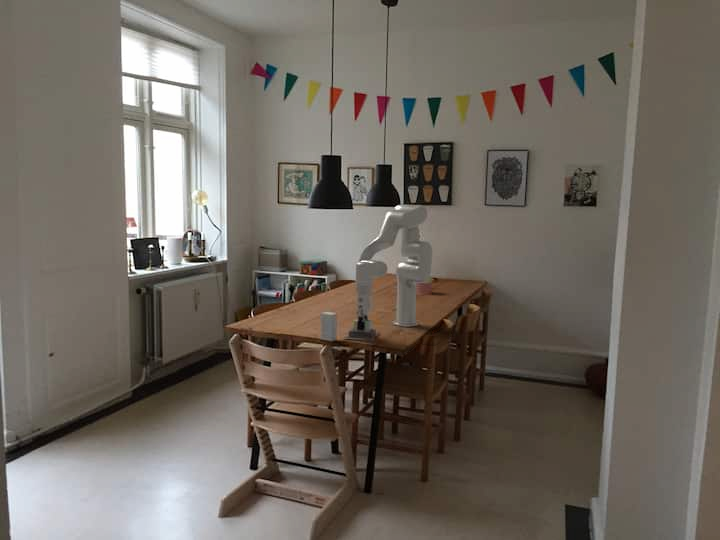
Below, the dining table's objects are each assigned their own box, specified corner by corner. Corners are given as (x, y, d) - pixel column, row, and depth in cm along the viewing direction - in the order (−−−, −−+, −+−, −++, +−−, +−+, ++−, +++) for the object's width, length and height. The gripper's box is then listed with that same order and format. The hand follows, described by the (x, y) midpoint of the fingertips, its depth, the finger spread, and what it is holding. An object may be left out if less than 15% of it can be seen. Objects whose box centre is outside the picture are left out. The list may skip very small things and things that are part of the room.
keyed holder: (352, 331, 270) (352, 325, 270) (379, 333, 267) (379, 327, 267) (343, 339, 255) (344, 333, 254) (372, 342, 252) (372, 335, 251)
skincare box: (337, 339, 254) (337, 313, 253) (331, 341, 251) (331, 314, 249) (326, 337, 258) (326, 311, 256) (320, 339, 254) (320, 312, 252)
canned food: (434, 293, 382) (435, 275, 380) (423, 295, 374) (424, 276, 372) (422, 291, 390) (422, 273, 388) (410, 292, 382) (411, 274, 380)
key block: (370, 334, 262) (371, 319, 261) (368, 337, 258) (369, 321, 257) (355, 333, 264) (356, 318, 263) (353, 335, 259) (354, 320, 258)
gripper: (367, 293, 249) (366, 333, 251) (375, 286, 265) (374, 324, 268) (350, 291, 250) (349, 332, 253) (359, 285, 267) (358, 323, 270)
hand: (362, 328), depth 260 cm, fingers open, 6 cm apart
